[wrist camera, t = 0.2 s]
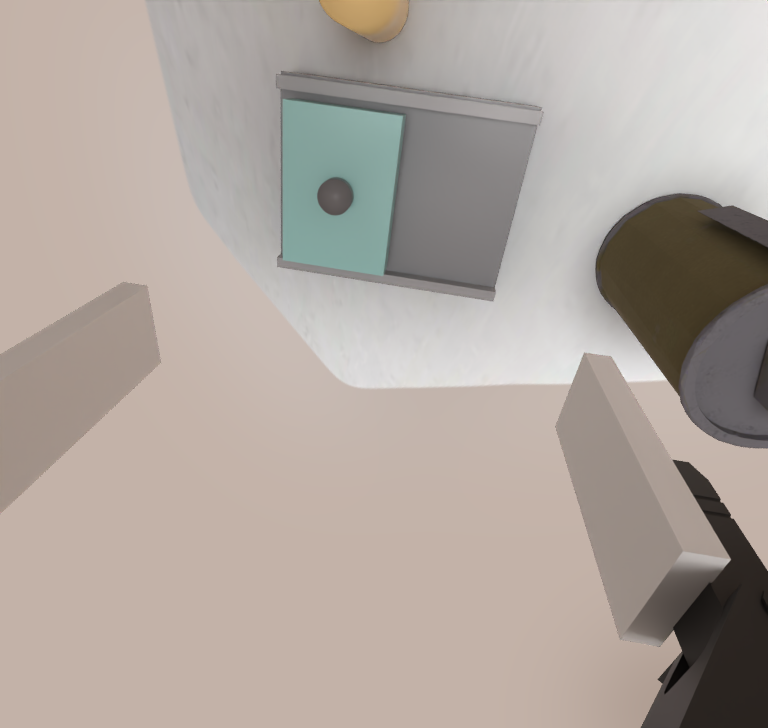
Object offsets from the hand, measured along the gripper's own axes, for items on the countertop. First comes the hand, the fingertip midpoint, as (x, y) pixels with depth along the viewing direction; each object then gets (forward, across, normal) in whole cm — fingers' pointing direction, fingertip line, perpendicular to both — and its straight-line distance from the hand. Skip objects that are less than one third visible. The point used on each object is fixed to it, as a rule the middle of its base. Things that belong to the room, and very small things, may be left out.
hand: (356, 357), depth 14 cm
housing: (+27, -1, 0) cm, 27 cm away
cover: (+24, -5, 0) cm, 25 cm away
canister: (+28, +21, -3) cm, 35 cm away
